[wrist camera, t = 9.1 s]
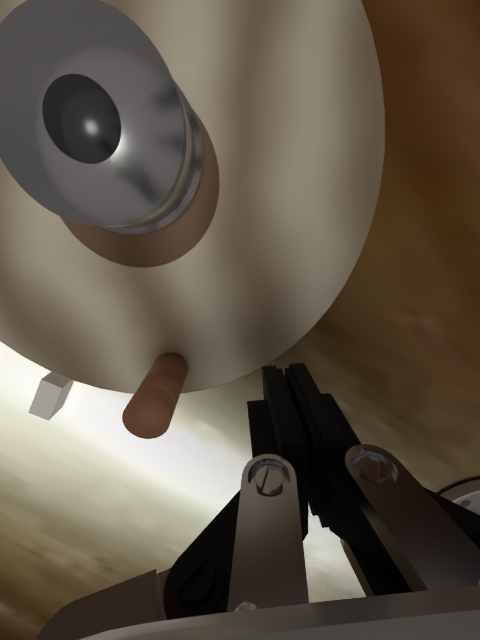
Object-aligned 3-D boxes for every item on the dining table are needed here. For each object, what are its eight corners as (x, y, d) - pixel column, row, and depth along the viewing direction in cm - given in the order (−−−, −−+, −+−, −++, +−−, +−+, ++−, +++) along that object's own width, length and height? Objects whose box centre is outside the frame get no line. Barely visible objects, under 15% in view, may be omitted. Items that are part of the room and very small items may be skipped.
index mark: (56, 368, 19) (41, 379, 17) (75, 376, 19) (62, 388, 17) (43, 399, 19) (28, 412, 18) (62, 406, 20) (48, 420, 18)
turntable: (389, -202, 11) (602, -813, 4) (359, 364, 19) (419, 429, 13) (-226, -121, 11) (-813, -572, 5) (7, 398, 19) (-102, 476, 13)
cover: (203, 64, 12) (186, -22, 8) (204, 236, 14) (192, 237, 10) (35, 55, 12) (-68, -37, 8) (65, 231, 14) (-3, 230, 10)
